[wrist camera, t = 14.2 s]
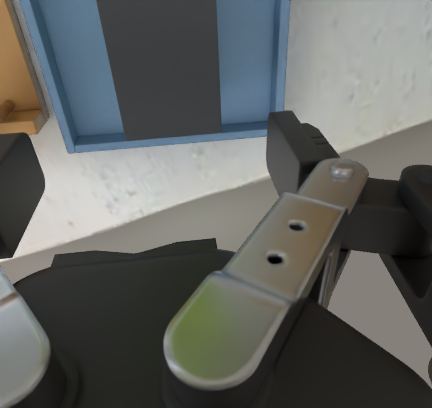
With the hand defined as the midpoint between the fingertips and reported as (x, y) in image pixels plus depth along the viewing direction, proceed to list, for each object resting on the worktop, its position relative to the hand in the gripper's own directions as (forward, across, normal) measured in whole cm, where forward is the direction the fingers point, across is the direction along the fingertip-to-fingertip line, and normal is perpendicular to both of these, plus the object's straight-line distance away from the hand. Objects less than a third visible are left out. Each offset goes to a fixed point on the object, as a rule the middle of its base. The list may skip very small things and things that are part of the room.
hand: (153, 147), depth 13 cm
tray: (+15, 0, 0) cm, 15 cm away
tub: (+15, 0, 0) cm, 15 cm away
